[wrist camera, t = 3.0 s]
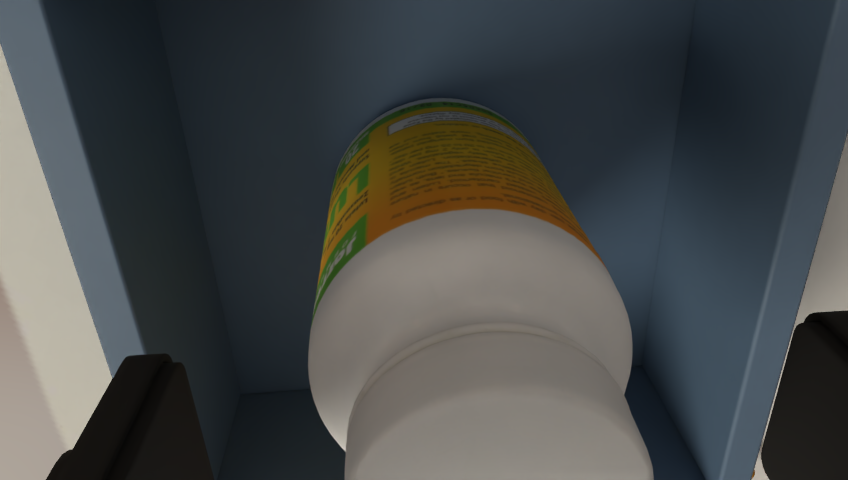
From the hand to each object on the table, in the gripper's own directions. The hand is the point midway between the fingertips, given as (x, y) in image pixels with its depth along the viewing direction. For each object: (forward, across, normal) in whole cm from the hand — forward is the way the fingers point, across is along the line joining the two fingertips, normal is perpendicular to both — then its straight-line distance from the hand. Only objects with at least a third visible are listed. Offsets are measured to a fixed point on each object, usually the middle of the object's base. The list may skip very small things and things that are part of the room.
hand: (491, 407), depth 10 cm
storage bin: (+8, 0, 0) cm, 8 cm away
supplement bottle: (+8, 0, 0) cm, 8 cm away
